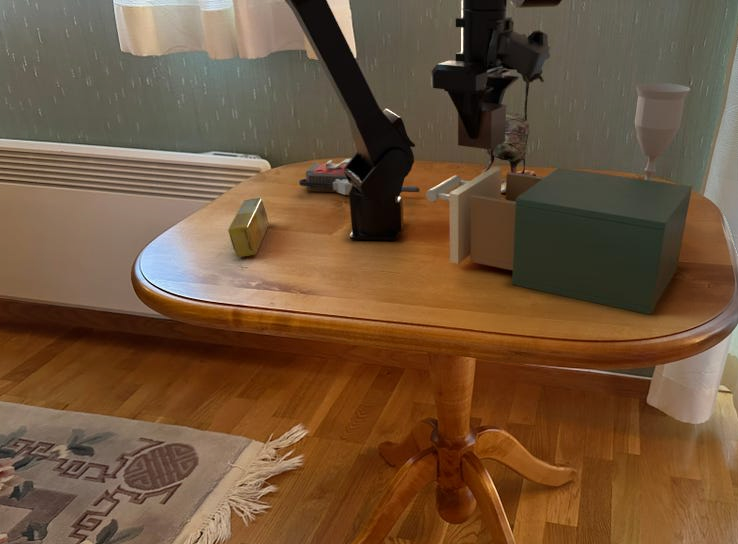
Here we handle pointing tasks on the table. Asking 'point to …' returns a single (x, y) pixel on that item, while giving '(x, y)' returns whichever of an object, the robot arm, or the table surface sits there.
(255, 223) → the medication box
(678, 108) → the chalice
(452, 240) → the drawer
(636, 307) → the cabinet
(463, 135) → the block
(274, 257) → the table surface
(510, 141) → the bird figurine
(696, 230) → the table surface
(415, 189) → the walkie-talkie
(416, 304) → the table surface
